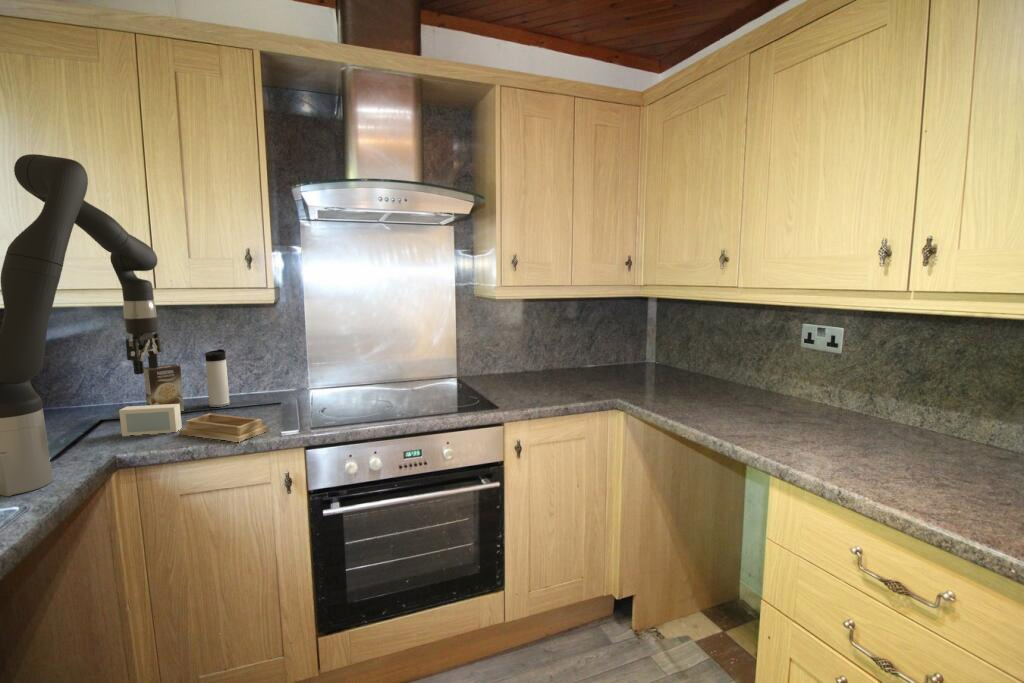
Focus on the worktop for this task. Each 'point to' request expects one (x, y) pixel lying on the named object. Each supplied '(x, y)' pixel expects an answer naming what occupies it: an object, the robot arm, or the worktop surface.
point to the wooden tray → (224, 427)
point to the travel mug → (217, 378)
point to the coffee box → (163, 385)
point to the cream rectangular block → (150, 419)
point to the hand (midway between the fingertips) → (146, 370)
